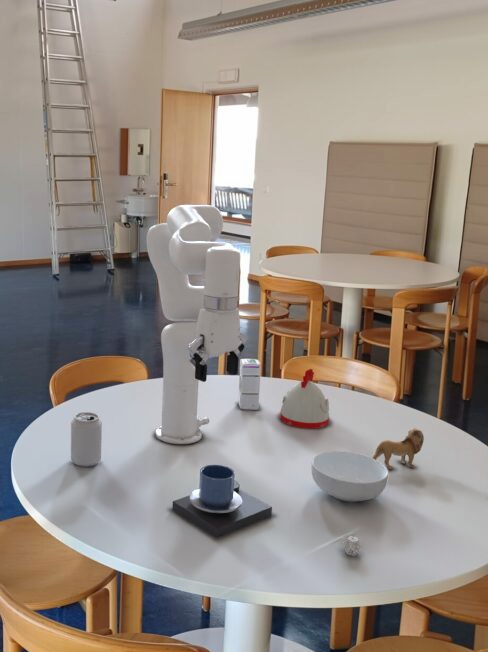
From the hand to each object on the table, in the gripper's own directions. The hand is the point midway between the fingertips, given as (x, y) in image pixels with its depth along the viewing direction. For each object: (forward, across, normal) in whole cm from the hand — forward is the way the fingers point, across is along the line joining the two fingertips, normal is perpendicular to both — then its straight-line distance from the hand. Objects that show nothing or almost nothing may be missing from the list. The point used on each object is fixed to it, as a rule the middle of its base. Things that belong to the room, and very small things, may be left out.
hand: (216, 376), depth 162 cm
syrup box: (+27, -45, -32) cm, 61 cm away
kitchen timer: (+27, -51, -15) cm, 59 cm away
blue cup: (+22, +10, +12) cm, 27 cm away
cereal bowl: (+26, -22, +22) cm, 41 cm away
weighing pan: (+22, +10, +12) cm, 27 cm away
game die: (+26, -2, +38) cm, 46 cm away
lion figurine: (+26, -46, +19) cm, 56 cm away
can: (+26, +18, -26) cm, 41 cm away
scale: (+26, +8, +12) cm, 30 cm away
